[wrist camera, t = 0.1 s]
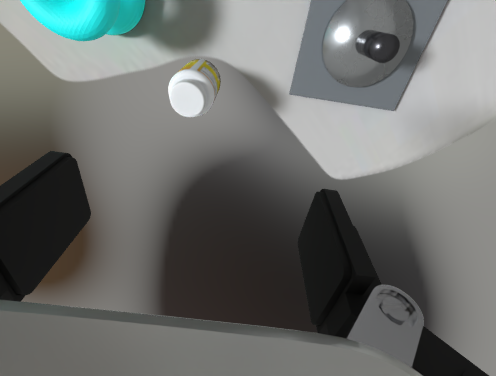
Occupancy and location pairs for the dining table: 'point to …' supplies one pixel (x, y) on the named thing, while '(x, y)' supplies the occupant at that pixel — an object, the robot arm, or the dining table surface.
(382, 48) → the lid
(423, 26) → the mat
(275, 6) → the dining table surface
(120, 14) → the donuts
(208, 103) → the supplement bottle
